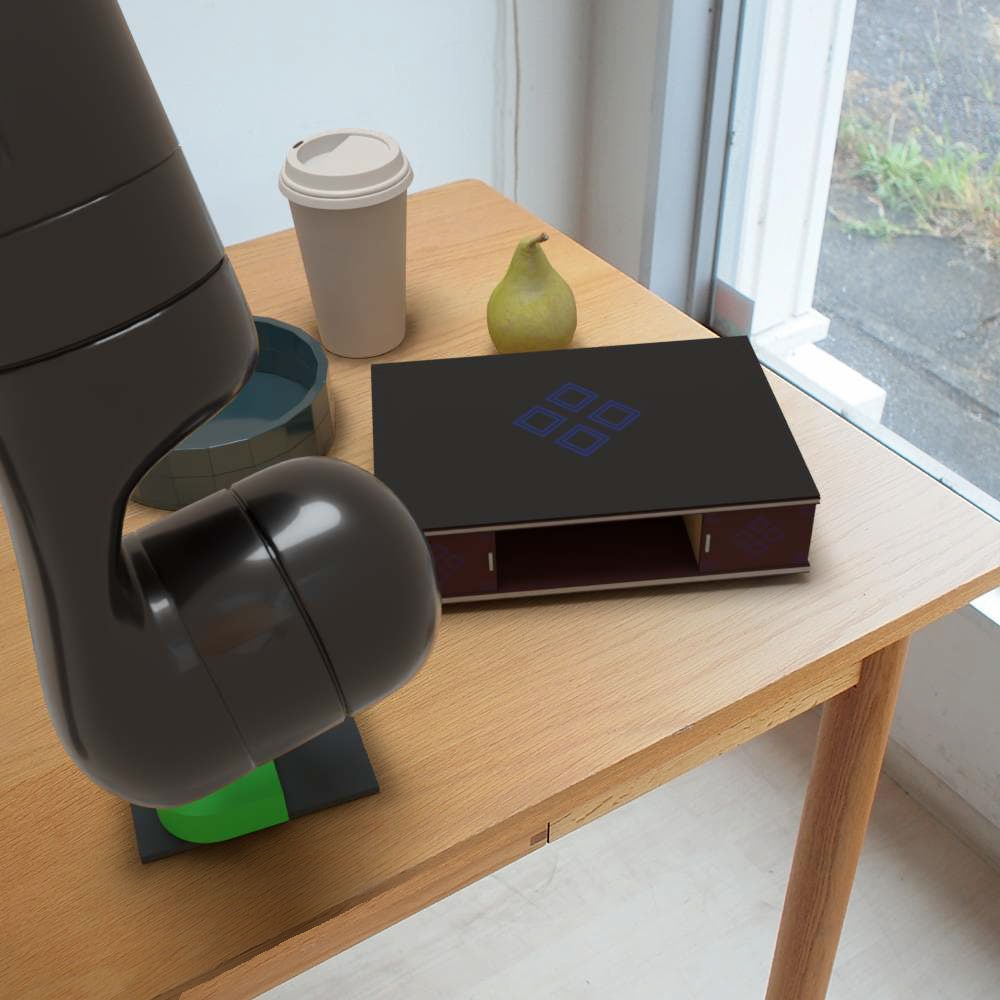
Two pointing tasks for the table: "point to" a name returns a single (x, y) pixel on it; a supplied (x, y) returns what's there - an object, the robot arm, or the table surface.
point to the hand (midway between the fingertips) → (223, 660)
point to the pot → (253, 423)
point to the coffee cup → (352, 235)
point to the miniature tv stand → (594, 467)
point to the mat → (287, 786)
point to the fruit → (531, 304)
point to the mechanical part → (230, 809)
